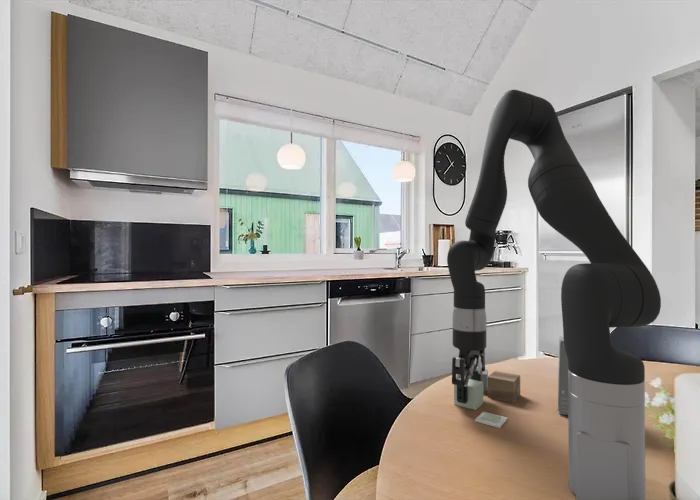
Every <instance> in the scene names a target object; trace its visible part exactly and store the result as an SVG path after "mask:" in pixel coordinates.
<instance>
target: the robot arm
mask: <svg viewBox="0 0 700 500" xmlns="http://www.w3.org/2000/svg"><path fill="white" fill-rule="evenodd" d="M558 117H559V116H558V114H557V112H556V109H555V108H554V106H553V104H552V103H551V102H550V101H548V100H547V99H545V98H543V97H541V96H537V95H534V94H531V93H529V92H525V91H523V90H519V89H510V90H507V91H506V92H504V93H503V94H502V95H501V96H500V97H499V99H498V100H497V102H496V104H495V106H494V108H493V110H492V113H491V116H490V121H489V123H488V128H487V133H486V134H487V135H486V140H485V144H484V150H483V155H482V158H481V159H482V160H481V161H482V162H481V165H480V172H479V176H478V181H477V183H476V187H475V190H474V195H473V197H472V200H471V203H470V206H469V209H468V211H467V214H466V217H465V221H464V222H465V226H466V228H467V229H468V230H469V231H470V234H469V238H468V239H469V240H457V241H455V242H454V243H453V244H451V246H450V247H449V249H448V252H447V257H446V258H447V259H446V261H447V268H448V272H449V277H450V281H451V284H452V287H453V288H452V289H453V310H452V311H453V312H452V346H453V347H454V348H455V349H458V351H459V353H458V356H457V357H456V356H453V357H452V359H451V360H452V361H451V362H452V365H451V367H452V368H451V385H457V401H458V402H460V403H464V404H465V403H467V402H468V386H467V385H468V381H469V378H471V379H472V380H477V381H481V377H480V376H482V374H483V373H482V372H484V371H485V369H486V359H485V358H486V356H485V355H486V350H485V349H486V348H487V312H486V288H485V287H486V286H485V285H484V284H483V283H481V282H479V281H478V280H477V276H476V271H477V272H478V271H481V270H484V269H486V267H487V266H488V265H489V264H490V262H491V260H492V258H493V255H494V251H495V250H494V249H495V243H496V233H497V228H498V226H499V223H500V221H501V218H502V216H503V213H504V210H505V207H506V204H507V201H508V187H507V186H508V185H507V180H506V179H507V177H506V172H505V171H506V170H505V154H506V149H507V146H508V143H509V141H510V140H513V141H517V142H519V143H522V144H524V145H525V146H526V147H527V148H528V149H529V151H530V154H531V155H532V157H533V160H534V161H533V163H532V166H531V169H530V171H529V174H528V178H527V187H528V190H529V194H530V196H531V199H532V200H533V202H534V205H535V208H536V210H537V212H538V214H539V215H540V217H541V219H542V220H544V222H546V223H547V224H548V225H549V227H551V228H552V229H554V230H555V231H556V232H557V233H559V234H560V235H561V236H563V238H565V239H567V240H568V241H570V242H571V243H572V244H573V245H574V246H576V247H577V248H578V249H579V250H580V251H581V252H582V253H583V254H584V255H585V257H586V258H587V259H588V261H589V262H588V263H578V264H574V265H572V266H571V267H569V268H568V269H567V271H566V272H565V274H564V276H563V278H562V284H561V293H560V302H561V316H562V330H563V331H562V332H563V333H562V335H563V336H562V337H563V338H564V347H565V351H566V354H567V358H568V415H567V416H568V419H567V420H568V427H567V428H568V433H567V434H568V436H567V437H568V442H567V443H568V485H569V489H570V491H571V492H572V493H573V494H574V495H575V499H576V500H646V413H645V412H646V409H645V408H646V407H645V406H646V393H645V391H646V390H645V389H646V385H645V384H646V382H645V381H646V380H645V379H646V377H645V375H646V374H645V373H646V369H645V364H644V361H643V359H642V358H640V357H639V356H638V355H636V354H633V353H630V352H627V351H625V350H622V349H619V348H617V347H615V346H614V345H613V342H612V339H611V338H612V337H611V332H610V331H611V330H610V329H611V328H638V327H644V326H647V325H650V324H652V323H653V322H655V320H657V318H658V316H659V315H660V311H661V307H662V298H661V294H660V290H659V289H660V288H659V287H658V285H657V282H656V280H655V278H654V276H653V275H652V273H651V272H650V269H649V268H648V267H647V265H646V264H645V263H644V261H643V259H641V257H640V256H639V255H638V253H637V252H636V251H635V249H634V248H633V247H632V246H631V245H630V243H629V242H628V241H627V239H626V238H625V236H624V235H623V233H622V232H621V231H620V229H619V228H618V226H617V225H616V223H615V221H614V220H613V218H612V217H611V215H610V213H609V212H608V210H607V209H606V207H605V205H604V204H603V202H602V201H601V199H600V197H599V196H598V195H599V194H598V193H597V192H596V190H595V187H594V185H593V183H592V182H591V180H590V178H589V176H588V174H587V172H586V171H585V169H584V168H583V166H582V165H581V163H580V162H579V161H578V159H577V157H576V154H575V152H574V151H573V149H572V147H571V145H570V144H569V142H568V140H567V138H566V136H565V134H564V131H563V128H562V126H561V123H560V120H559V118H558ZM472 374H473V375H472ZM460 379H461V380H460Z"/></svg>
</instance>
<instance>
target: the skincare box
mask: <svg viewBox="0 0 700 500" xmlns="http://www.w3.org/2000/svg"><path fill="white" fill-rule="evenodd" d="M558 338H559V348H558V377H557V380H558V381H557V383H558V384H557V411H558V414H559V415H564V416H568V358H567V354H566V351H565V347H564V338H563V336H559V337H558Z"/></svg>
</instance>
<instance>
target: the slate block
mask: <svg viewBox="0 0 700 500" xmlns="http://www.w3.org/2000/svg"><path fill="white" fill-rule="evenodd" d="M482 373H483V374H482V376H480V377H481V381H482V382H483V392H487V393H488V376H489V369H486V368H485V371H484V372H482ZM472 375H473V374H472ZM469 379H471V378H469Z"/></svg>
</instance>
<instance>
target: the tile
mask: <svg viewBox="0 0 700 500" xmlns="http://www.w3.org/2000/svg"><path fill="white" fill-rule="evenodd" d="M507 420H508V417H506V416H502V415H497V414H495V413H491V412H486V411H482V412H481V413H480V414H479V415H478V416H477V417H476V418H475V419H474V422H476V423H479V424H483V425H487V426H491V427H494V428H499V429H501V427H502V426H503V425H504V424H505V423H506V422H507Z"/></svg>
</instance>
